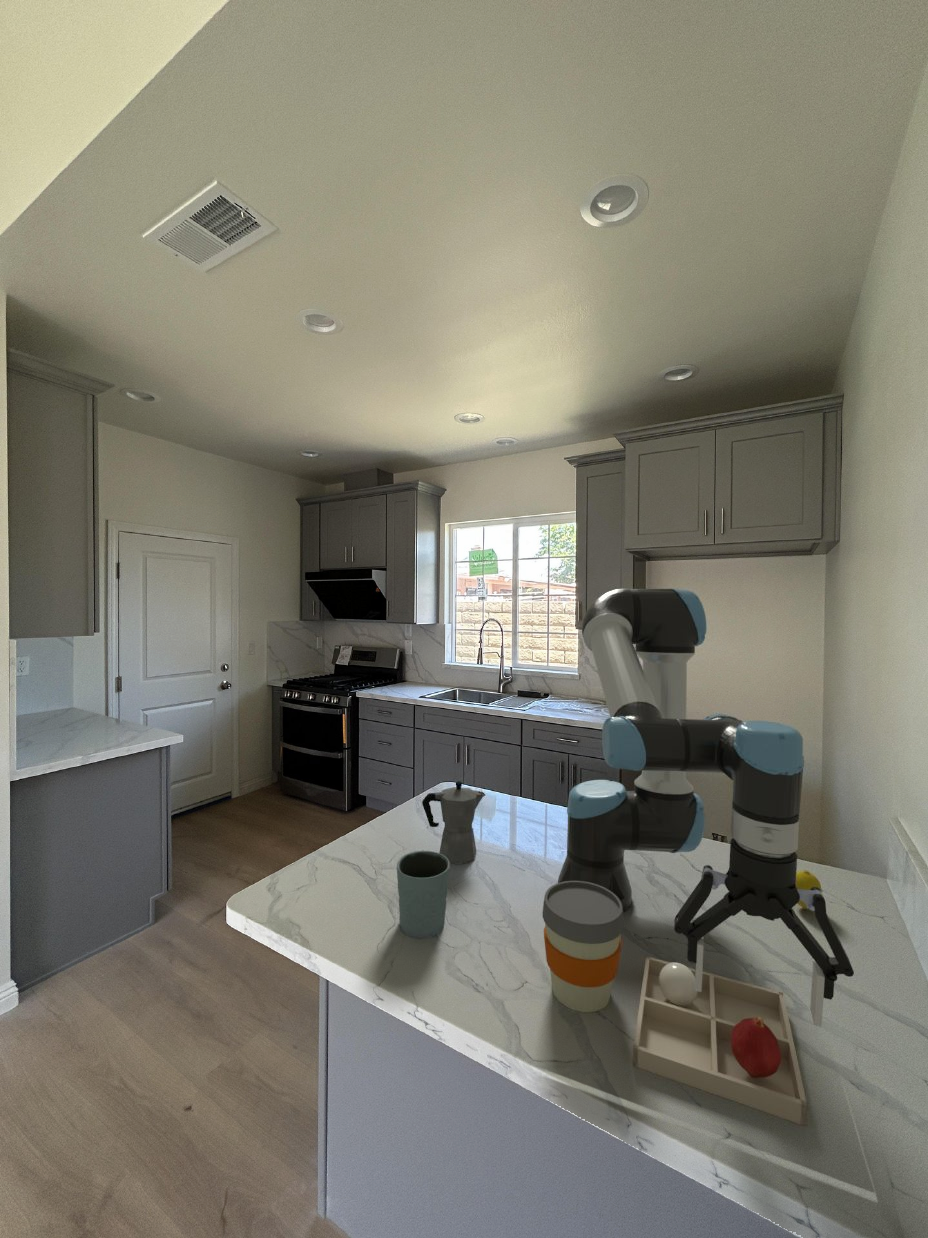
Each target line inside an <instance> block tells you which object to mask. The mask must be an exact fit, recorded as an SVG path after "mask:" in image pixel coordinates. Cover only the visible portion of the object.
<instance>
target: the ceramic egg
mask: <svg viewBox="0 0 928 1238" xmlns="http://www.w3.org/2000/svg"><path fill="white" fill-rule="evenodd" d="M688 967H689V966H688ZM688 967H687V966H686V965H684V964H683V963H681V962H677V961H675V962H670V963H669V964H667V965H665V966H664V967H663V968H662V970H661V972H660V975H659V985H660V988H661V991H662V993H663V994H664V996H665V997H666V998H667V999H668V1000H669V1001H670V1002H671V1003H673V1004H675V1005H678V1006H687V1005H690V1004H691V1003H692V1002H693V1001H694V1000H695V999H696V997H697V993H698V991H696V990H695V976H694V974H693V973H692V971H691V970H690V969H689V968H690V967H689V968H688Z"/></svg>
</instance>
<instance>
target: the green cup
mask: <svg viewBox="0 0 928 1238" xmlns="http://www.w3.org/2000/svg"><path fill="white" fill-rule="evenodd" d="M450 864H451V863H449V860H448V859H447V858H446V857H445V856H444V855H442V854H440V853H439V852H438V851H432V850H416V851H411V852H408V853H406V854H404V855H402V856H401V857H400V858H399V859H398V860H397V863H396V876H397V877H396V878H397V885H398V886H397V887H398V888H397V890H398V891H397V892H398V907H399V920H398V921H399V926H400V929H401V932H402V933H404V934H405V935H407V936H408V937H411V938H416V939H426V938H430V937H434V936H436V935H438V934H439V933H440V932H441V931H442V930H443V929H444V926H445V923H446V922H445V920H446V909H447V897H448V888H449V878H450V877H449V876H450V866H451V865H450Z"/></svg>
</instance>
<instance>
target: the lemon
mask: <svg viewBox="0 0 928 1238" xmlns="http://www.w3.org/2000/svg"><path fill="white" fill-rule="evenodd" d="M796 887H797V889H803V890H810V889H811V888H812V887H818V888H819V889H820V890H821V892H822V893H823V891H822V886H821V883H820V881H819V879H818V878H817V876H816V875H815V874H813V873H811V872H809V870H806V869H805V870H800V871H796ZM796 905H798V906H800V907H801V908H802V909H803V910H809V909H808V908H807V907H806V904H805V903H804V902H803V901H800V900H799V902H798V903H797V904H796Z"/></svg>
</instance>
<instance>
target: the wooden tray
mask: <svg viewBox="0 0 928 1238" xmlns="http://www.w3.org/2000/svg"><path fill="white" fill-rule="evenodd" d="M644 963H645V964H644V970H643V978H642V984H641V991H640V997H639V998H640V999H639V1005H638V1012H637V1019H636V1026H635V1033H634V1041H633V1046H632V1049H633V1050H632V1067H634V1068H638V1069H641V1070H643V1071H646V1072H650V1073H652V1074H655V1075H658V1076H661V1077H662V1078H666V1079H669V1080H672V1081H675V1082H677V1083H681V1084H683V1085H685V1086H690V1087H691V1088H692V1087H693V1088H695V1089H697V1090H700V1091H704V1092H706V1093H710V1094H711V1095H715V1096H717V1097H719V1098H720V1097H721V1098H723V1099H726V1100H729V1101H732V1102H736V1103H738V1104H739V1105H740V1104H741V1105H743V1106H747V1107H748V1108H749V1107H750V1108H752V1109H755V1110H758V1111H760V1112H763V1113H767V1114H769V1115H772V1116H775V1117H778V1118H781V1119H784V1120H787V1121H789V1122H792V1123H794V1124H799V1125H801V1126H804V1127H807V1123H808V1122H807V1120H808V1118H807V1117H808V1103H807V1098H806V1094H805V1089H804V1085H803V1079H802V1075H801V1070H800V1065H799V1061H798V1057H797V1052H796V1047H795V1043H794V1038H793V1032H792V1029H791V1028H792V1027H791V1024H790V1019H789V1014H788V1010H787V1006H786V1005H787V1004H786V1000H785V996H784V992H781V991H778V990H774V989H771V988H766V987H763V986H759V985H755V984H752V983H748V982H745V981H744V982H743V981H740V980H737V979H734V978H729V977H726V976H721V975H719V974H714V973H712V972H707V971H703V970H702V991H701V992H699V991H698V993H697V997H696V999H695V1000H694V1001H693V1002H692V1003H691V1004H690V1005H687V1006H678V1005H675V1004H673V1003H671V1002H670V1001H669V1000H668V999H667V998H666V997H665V996H664V994H663V993H662V991H661V988H660V985H659V975H660V972H661V970H662V968H663V967H664V966H665V965H667V964H669V963H671V962H670V961H666V960H662V959H658V958H656V957H655V958H654V957H651V956H647V955H646V957H645V962H644ZM688 968H689V969H690V970H691V971H692V973H693V974H694V976H696V968H692V967H689V966H688ZM757 1017H760V1018H762V1019H763V1022H764V1024H765V1025H767V1026H768V1027H769V1028H770V1030H771V1031H772V1033H773V1034H774V1035H775V1037H776V1039H777V1041H778V1044H779V1047H780V1051H781V1063H780V1065H779V1068H778V1070H777V1072H776V1073H774V1074H773V1075H771V1076H768V1077H758V1078H754V1077H751V1076H750V1075H749V1074H748V1073H747V1071H745V1070H744V1069H743V1068H742V1067H741V1066H740V1064H739V1063H738V1062H737V1060H736V1058H735V1056H734V1054H733V1052H732V1047H731V1042H730V1039H731V1034H732V1030H733V1028H734V1026H735V1025H737V1024H738V1023H739V1022H740V1021H742V1020H743V1019H746V1018H757Z"/></svg>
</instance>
